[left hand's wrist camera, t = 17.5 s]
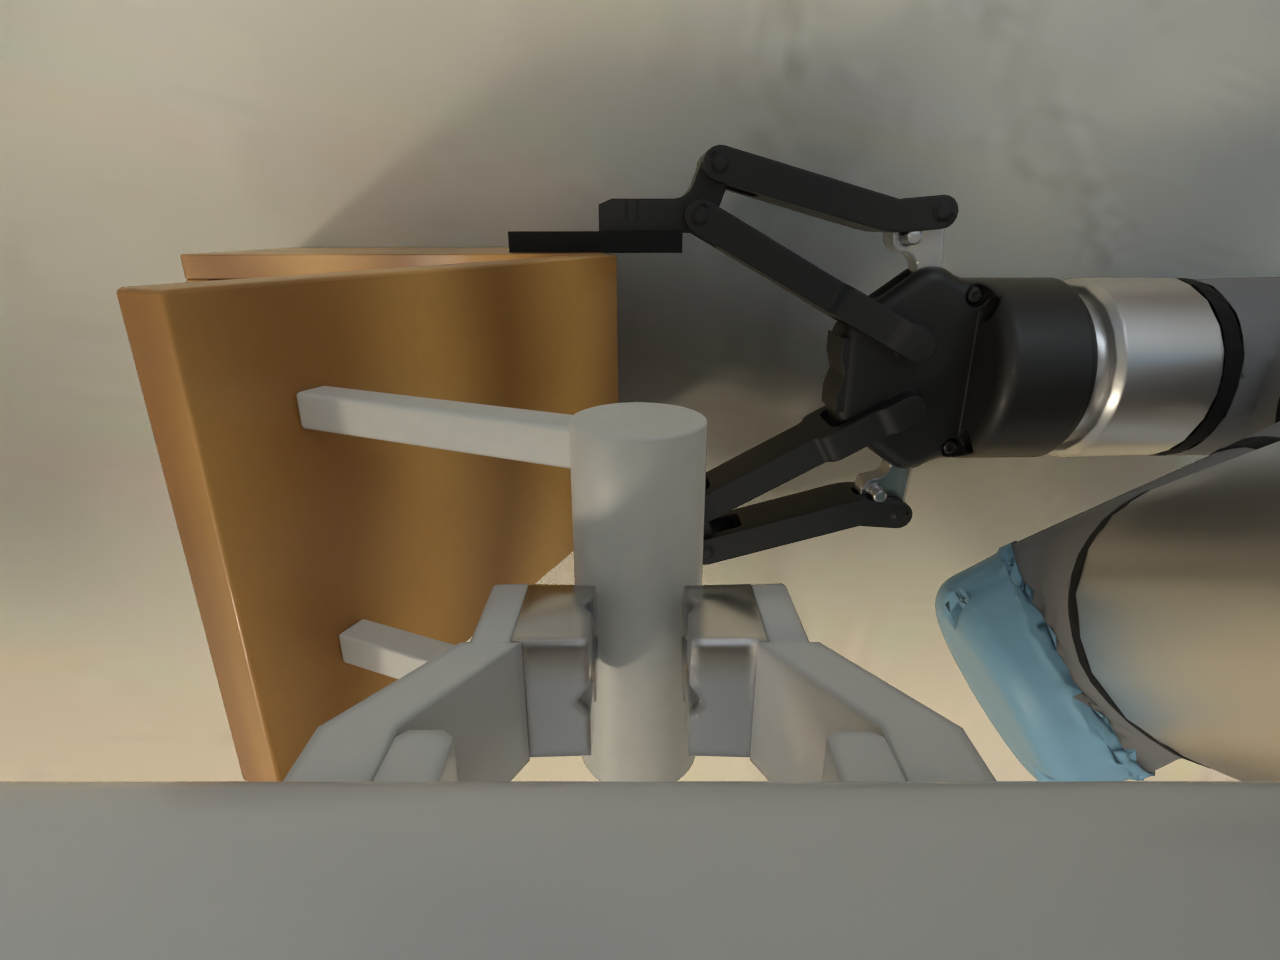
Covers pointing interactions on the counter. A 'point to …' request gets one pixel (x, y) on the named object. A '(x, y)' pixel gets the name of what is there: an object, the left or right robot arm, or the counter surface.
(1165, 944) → the left robot arm
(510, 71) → the counter surface
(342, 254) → the chest
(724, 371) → the counter surface
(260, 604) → the lid
